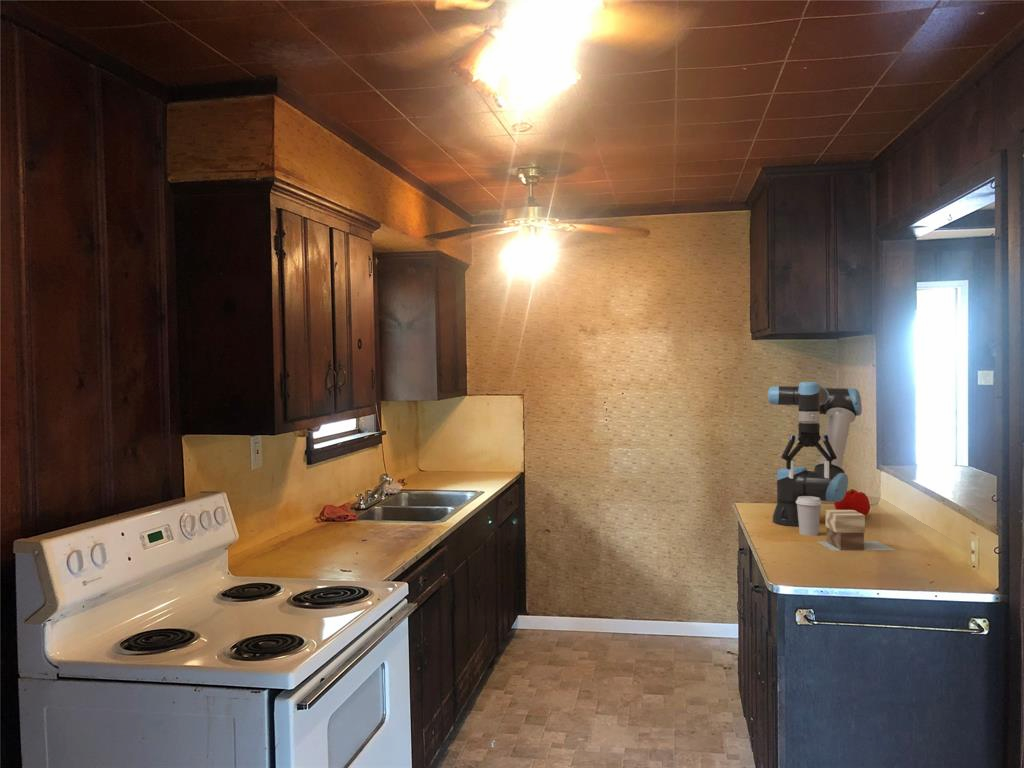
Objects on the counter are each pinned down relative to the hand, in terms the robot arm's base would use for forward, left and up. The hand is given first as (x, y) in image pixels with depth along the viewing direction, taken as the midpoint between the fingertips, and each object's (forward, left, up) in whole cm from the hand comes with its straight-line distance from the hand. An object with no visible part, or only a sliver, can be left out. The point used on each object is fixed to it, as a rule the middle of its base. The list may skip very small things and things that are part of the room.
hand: (808, 478), depth 288 cm
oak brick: (+20, +5, -15) cm, 26 cm away
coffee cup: (0, 0, -23) cm, 23 cm away
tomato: (-37, +33, -23) cm, 55 cm away
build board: (+19, +9, -23) cm, 31 cm away
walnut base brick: (+20, +5, -21) cm, 30 cm away
